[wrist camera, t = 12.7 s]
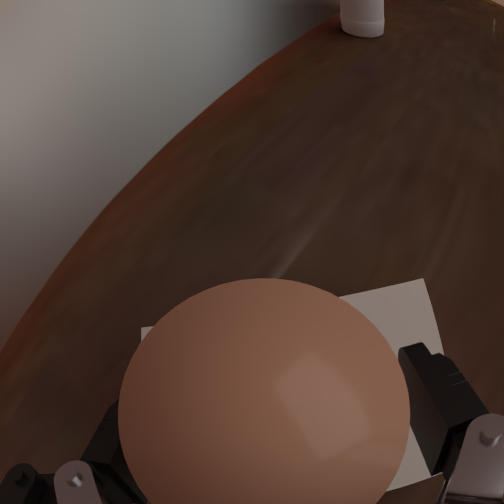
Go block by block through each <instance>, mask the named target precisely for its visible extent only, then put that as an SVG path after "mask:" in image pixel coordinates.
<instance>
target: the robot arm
mask: <svg viewBox="0 0 504 504" xmlns="http://www.w3.org/2000/svg"><path fill="white" fill-rule="evenodd" d="M398 362H399V364H400V367H401V369H402V371H403V374H404V377H405V381H406V385H407V389H408V394H409V404H410V426H411V429H412V431H413V433H414V436H415V438H416V440H417V443H418V445H419V448H420V450H421V453H422V455H423V458H424V460H425V463H426V465H427V468H428V470H429V473H430V475H431V476H434V475H436V474H439V473H443V475H444V478H445V482H444V484H443V487H442V489H441V491H440V494H439V496H438V499H437V501H436V503H435V504H504V503H502V495H503V491H504V416H502V415H499V414H490V413H489V412H488V410H487V409H486V407H485V406H484V404H483V403H482V402H481V400H480V399H479V397H478V396H477V394H476V393H475V391H474V390H473V389H472V387H471V386H470V384H469V383H468V382H467V381H466V380H465V377H464V376H463V375H462V373H461V372H459V369H458V368H457V367H456V365H455V364H454V363H453V361H452V360H451V359H449V358H448V357H446V356H444V355H442V354H441V353H436V354H433V355H432V354H431V353H430V351H429V350H428V348H427V347H426V346H425V344H424V343H423V342H419V343H415V344H412V345H408V346H405V347H401V348H400V349H399V351H398ZM118 405H119V399H118V400H117V401H116V402H115V403H114V404H113V405H112V406H111V407H110V408H109V409H108V410H107V412H106V414H105V416H104V418H103V421H101V423H100V425H99V426H98V430H96V432H95V434H94V435H93V437H92V439H91V441H90V443H89V445H88V446H87V448H86V450H85V452H84V454H83V456H82V457H81V459H80V461H70V462H68V463H66V464H64V465H62V466H61V467H60V468H59V469H58V470H57V472H56V474H39V473H38V472H37V471H36V470H35V469H34V468H33V467H32V466H31V465H29V464H26V463H22V464H18V465H16V466H14V467H13V468H11V469H10V470H9V472H8V473H7V475H6V476H5V478H4V480H3V482H2V483H1V485H0V504H133V503H137V504H146V503H147V500H148V499H147V498H146V497H145V495H144V494H143V493H142V491H141V490H140V488H139V487H138V485H137V483H136V481H135V480H134V478H133V476H132V474H131V472H130V470H129V467H128V465H127V462H126V460H125V457H124V454H123V450H122V446H121V442H120V436H119V427H118Z"/></svg>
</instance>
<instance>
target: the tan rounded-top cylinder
mask: <svg viewBox="0 0 504 504" xmlns="http://www.w3.org/2000/svg"><path fill="white" fill-rule="evenodd" d="M118 427H119V436H120V442H121V446H122V450H123V454H124V457H125V460H126V462H127V465H128V467H129V470H130V472H131V474H132V476H133V478H134V480H135V481H136V483H137V485H138V487H139V488H140V490H141V491H142V493H143V494H144V495H145V497H146V498H147V499H148V501H149V502H150V503H151V504H376V503H377V502H378V501H379V500H380V498H381V497H382V496H383V494H384V493H385V492H386V490H387V489H388V488H389V486H390V484H391V482H392V481H393V479H394V477H395V475H396V473H397V471H398V469H399V467H400V464H401V462H402V459H403V456H404V453H405V450H406V445H407V441H408V436H409V428H410V404H409V394H408V389H407V385H406V381H405V377H404V374H403V371H402V369H401V367H400V364H399V362H398V359H397V357H396V355H395V354H394V352H393V350H392V348H391V347H390V345H389V343H388V342H387V340H386V339H385V338H384V336H383V335H382V334H381V333H380V331H379V330H378V329H377V328H376V326H375V325H374V324H373V323H372V322H371V321H370V320H368V319H367V318H366V317H365V316H364V315H363V314H362V313H361V312H360V311H358V310H357V309H356V308H354V307H353V306H351V305H350V304H349V303H347V302H346V301H344V300H342V299H340V298H339V297H337V296H335V295H333V294H331V293H329V292H327V291H324V290H322V289H319V288H317V287H314V286H311V285H307V284H304V283H300V282H296V281H290V280H282V279H264V278H256V279H247V280H238V281H234V282H230V283H225V284H221V285H218V286H215V287H213V288H210V289H207V290H204V291H202V292H200V293H198V294H196V295H194V296H192V297H190V298H188V299H187V300H185V301H184V302H182V303H181V304H179V305H177V306H176V307H174V308H173V309H172V310H171V311H170V312H168V313H167V314H166V315H165V316H164V317H162V318H161V319H160V320H159V321H158V322H157V323H156V324H155V326H154V327H153V328H152V329H151V330H150V331H149V332H148V333H147V335H146V336H145V338H144V339H143V340H142V342H141V343H140V344H139V346H138V348H137V350H136V351H135V353H134V355H133V357H132V358H131V361H130V363H129V365H128V368H127V370H126V373H125V376H124V379H123V383H122V387H121V391H120V397H119V405H118Z"/></svg>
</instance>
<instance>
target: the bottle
mask: <svg viewBox="0 0 504 504" xmlns="http://www.w3.org/2000/svg"><path fill="white" fill-rule="evenodd" d="M340 8H341V15H340V18H341V24H342V29H343V31H345V32H346V33H348V34H350V35H353V36H358V37H366V38H373V37H378V36H381V35H382V34H383V28H384V0H340Z"/></svg>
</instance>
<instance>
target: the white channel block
mask: <svg viewBox="0 0 504 504" xmlns="http://www.w3.org/2000/svg"><path fill="white" fill-rule="evenodd" d="M339 298H340V299H342V300H344V301H346V302H347V303H349V304H350V305H351V306H353V307H354V308H356V309H357V310H358V311H360V312H361V313H362V314H363V315H364V316H365V317H366V318H367V319H368V320H370V321H371V322H372V323H373V324H374V325H375V326H376V328H377V329H378V330H379V331H380V333H381V334H382V335H383V336H384V338H385V339H386V340H387V342H388V343H389V345H390V347H391V348H392V350H393V352H394V354H395V355H396V357H397V359H398V351H399V349H400V348H401V347H405V346H408V345H412V344H415V343H419V342H423V343H424V344H425V346H426V347H427V348H428V350H429V351H430V353H431V354H432V355H433V354H436V353H441V354H442V355H444V353H443V349H442V345H441V340H440V336H439V332H438V328H437V324H436V321H435V317H434V313H433V310H432V306H431V303H430V299H429V296H428V292H427V289H426V286H425V283H424V279H423V278H422V279H418V280H414V281H410V282H406V283H401V284H397V285H393V286H388V287H384V288H379V289H375V290H370V291H366V292H361V293H356V294H351V295H347V296H342V297H339ZM153 327H154V326H153ZM153 327H144V328H141V342H142V340H143V339H144V338H145V336H146V335H147V333H148V332H149V331H150V330H151V329H152V328H153ZM439 474H441V473H439ZM436 475H438V474H436ZM434 476H435V475H434ZM430 477H433V476H431V475H430V473H429V470H428V468H427V465H426V463H425V460H424V458H423V455H422V453H421V450H420V448H419V445H418V443H417V440H416V438H415V436H414V433H413V431H412V429H411V426H410V428H409V436H408V441H407V445H406V450H405V453H404V456H403V459H402V462H401V464H400V467H399V469H398V471H397V473H396V475H395V477H394V479H393V481H392V482H391V484H390V486H389V488H388V489H387V490H386V491H389V490H393V489H396V488H400V487H403V486H406V485H409V484H413V483H416V482H419V481H422V480H424V479H427V478H430Z"/></svg>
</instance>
